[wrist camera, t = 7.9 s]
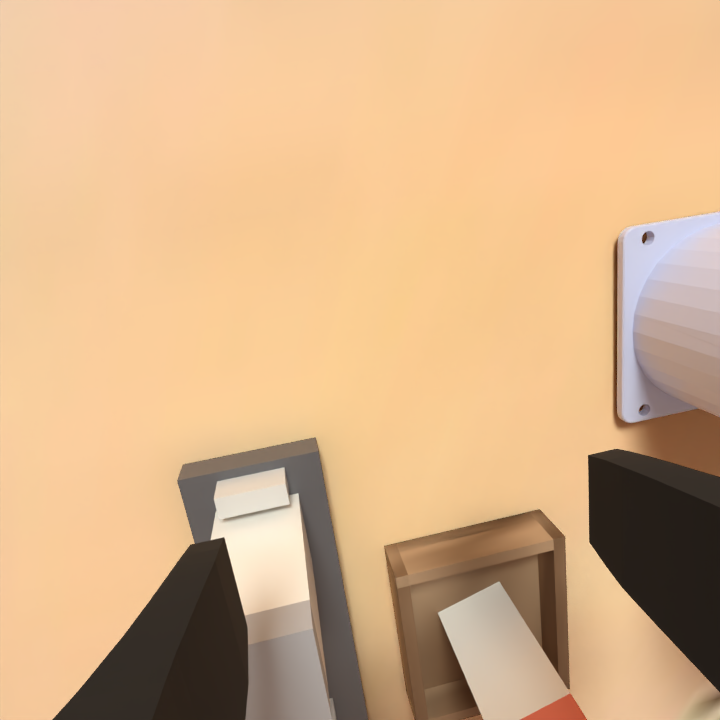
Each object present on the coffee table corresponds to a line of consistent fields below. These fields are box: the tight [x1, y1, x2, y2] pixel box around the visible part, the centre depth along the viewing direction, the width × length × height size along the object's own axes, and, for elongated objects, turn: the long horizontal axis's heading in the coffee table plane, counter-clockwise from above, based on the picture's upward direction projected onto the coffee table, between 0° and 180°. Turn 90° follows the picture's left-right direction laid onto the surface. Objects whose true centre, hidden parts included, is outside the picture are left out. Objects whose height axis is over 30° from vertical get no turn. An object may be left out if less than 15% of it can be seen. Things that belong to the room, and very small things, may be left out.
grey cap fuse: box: [211, 493, 332, 720], centre depth 16 cm, size 3×3×6 cm
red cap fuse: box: [438, 582, 587, 720], centre depth 19 cm, size 3×3×6 cm
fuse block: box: [177, 438, 368, 720], centre depth 21 cm, size 5×19×2 cm, turn 9°
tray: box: [384, 509, 570, 720], centre depth 22 cm, size 7×8×2 cm
